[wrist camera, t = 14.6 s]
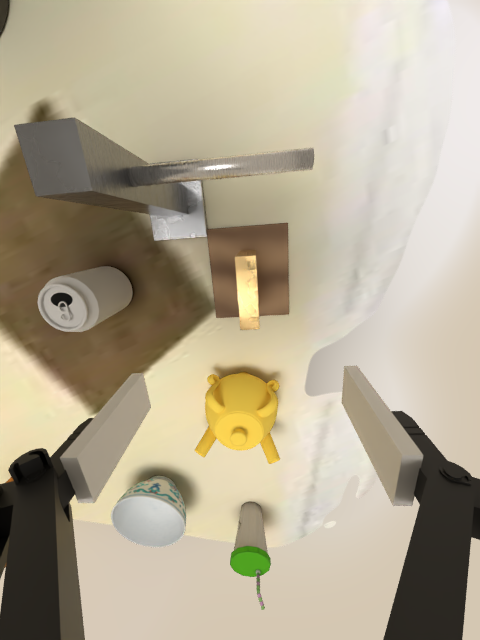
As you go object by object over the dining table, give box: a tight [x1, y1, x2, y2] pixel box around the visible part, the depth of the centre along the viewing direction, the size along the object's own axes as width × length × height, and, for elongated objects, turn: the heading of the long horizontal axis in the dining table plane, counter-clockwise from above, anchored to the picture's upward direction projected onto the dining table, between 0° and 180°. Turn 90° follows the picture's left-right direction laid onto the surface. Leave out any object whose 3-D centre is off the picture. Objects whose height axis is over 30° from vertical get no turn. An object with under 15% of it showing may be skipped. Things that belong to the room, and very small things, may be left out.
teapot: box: [195, 372, 280, 464], centre depth 43 cm, size 14×14×11 cm
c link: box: [235, 249, 260, 330], centre depth 35 cm, size 9×2×10 cm, turn 4°
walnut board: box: [207, 223, 289, 318], centre depth 40 cm, size 14×12×1 cm
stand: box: [14, 118, 314, 241], centre depth 25 cm, size 10×20×24 cm, turn 94°
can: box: [38, 266, 133, 332], centre depth 36 cm, size 8×8×12 cm
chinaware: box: [111, 476, 186, 547], centre depth 54 cm, size 15×15×8 cm
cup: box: [230, 502, 271, 610], centre depth 51 cm, size 8×8×15 cm
